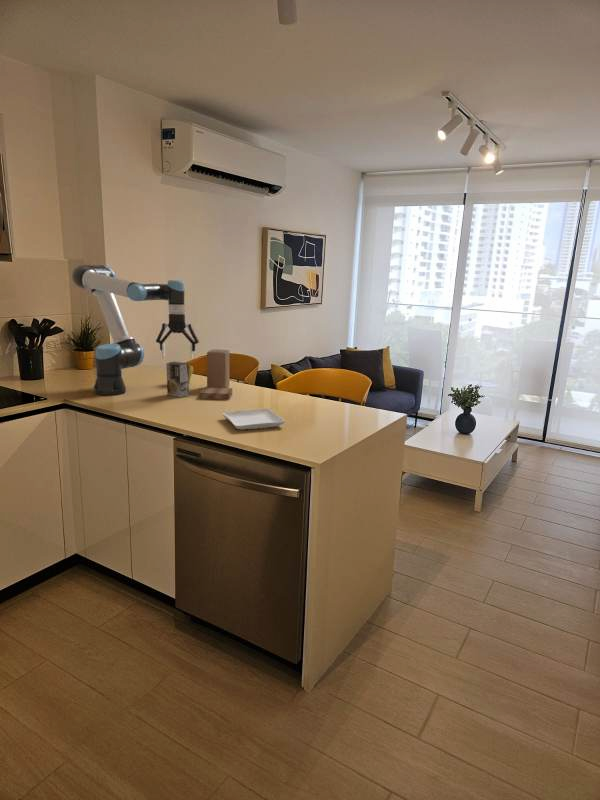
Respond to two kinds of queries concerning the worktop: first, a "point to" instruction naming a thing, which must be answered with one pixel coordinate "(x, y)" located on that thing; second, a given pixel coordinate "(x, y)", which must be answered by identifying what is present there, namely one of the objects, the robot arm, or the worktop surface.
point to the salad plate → (253, 419)
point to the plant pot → (190, 371)
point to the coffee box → (177, 379)
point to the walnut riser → (216, 393)
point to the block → (218, 368)
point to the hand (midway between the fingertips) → (177, 357)
